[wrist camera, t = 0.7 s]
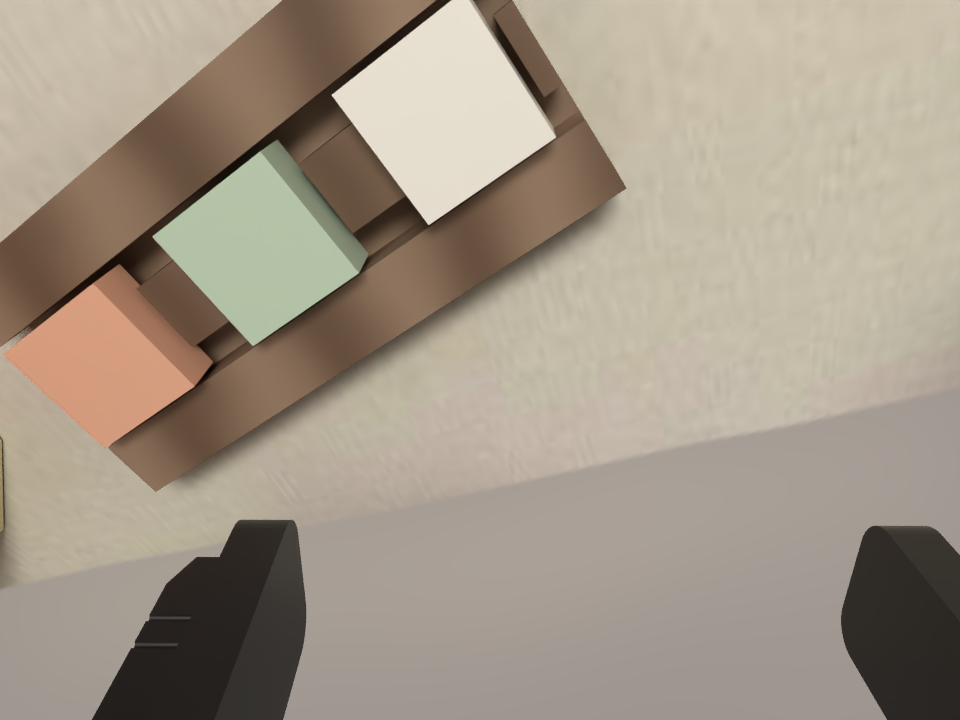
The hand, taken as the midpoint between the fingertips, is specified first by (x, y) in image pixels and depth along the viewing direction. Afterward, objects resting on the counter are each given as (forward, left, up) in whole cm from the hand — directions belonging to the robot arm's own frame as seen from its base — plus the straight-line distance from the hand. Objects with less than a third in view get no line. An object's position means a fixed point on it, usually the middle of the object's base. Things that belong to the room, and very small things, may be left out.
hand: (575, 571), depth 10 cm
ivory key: (0, -5, -18) cm, 18 cm away
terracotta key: (+16, -5, -18) cm, 25 cm away
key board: (+8, -5, -20) cm, 22 cm away
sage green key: (+8, -5, -18) cm, 20 cm away
